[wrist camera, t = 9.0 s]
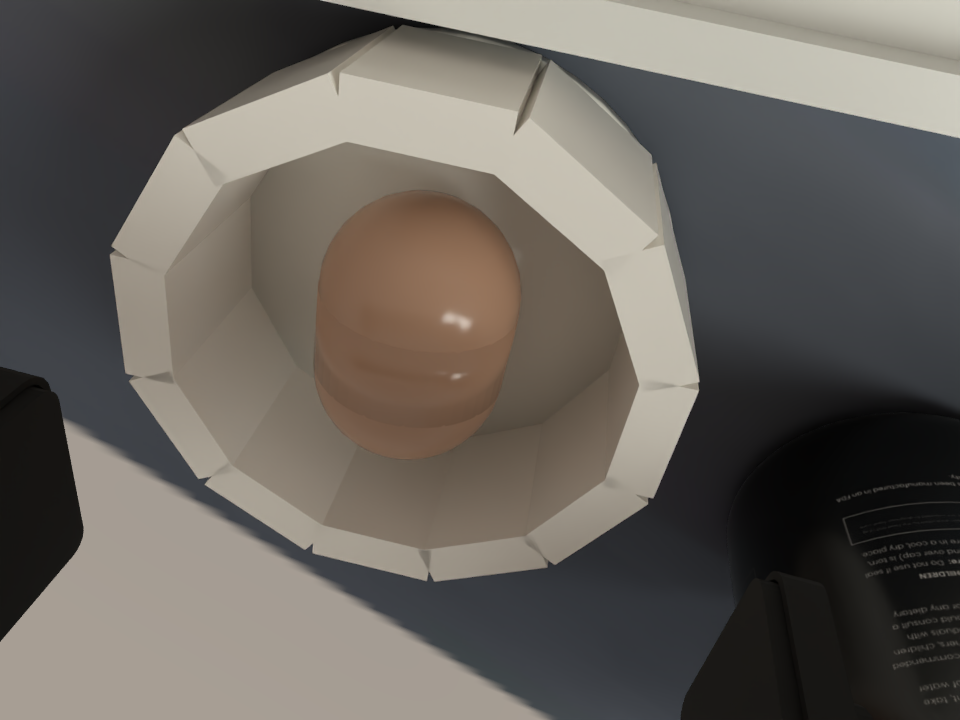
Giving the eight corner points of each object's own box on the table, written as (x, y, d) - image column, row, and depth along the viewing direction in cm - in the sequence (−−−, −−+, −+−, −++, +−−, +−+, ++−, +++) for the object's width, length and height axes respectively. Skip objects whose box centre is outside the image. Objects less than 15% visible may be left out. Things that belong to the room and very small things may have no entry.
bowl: (749, 91, 13) (792, 171, 10) (604, 486, 18) (600, 623, 15) (213, -24, 13) (78, 15, 10) (228, 397, 19) (144, 512, 15)
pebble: (363, 141, 14) (288, 216, 11) (552, 186, 14) (528, 275, 11) (342, 364, 17) (279, 471, 14) (498, 404, 17) (467, 521, 14)
